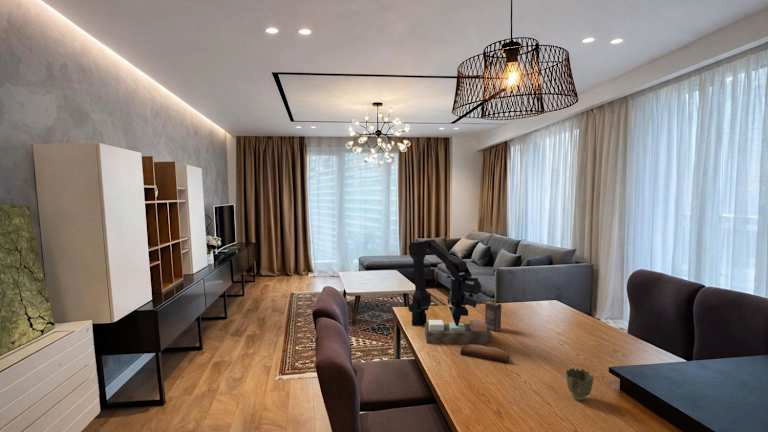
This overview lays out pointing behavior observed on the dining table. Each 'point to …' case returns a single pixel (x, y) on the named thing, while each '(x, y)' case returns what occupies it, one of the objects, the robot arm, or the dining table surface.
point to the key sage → (456, 327)
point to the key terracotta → (478, 325)
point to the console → (458, 336)
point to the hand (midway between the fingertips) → (456, 325)
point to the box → (493, 316)
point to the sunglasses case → (485, 352)
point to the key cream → (436, 325)
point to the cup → (579, 383)
